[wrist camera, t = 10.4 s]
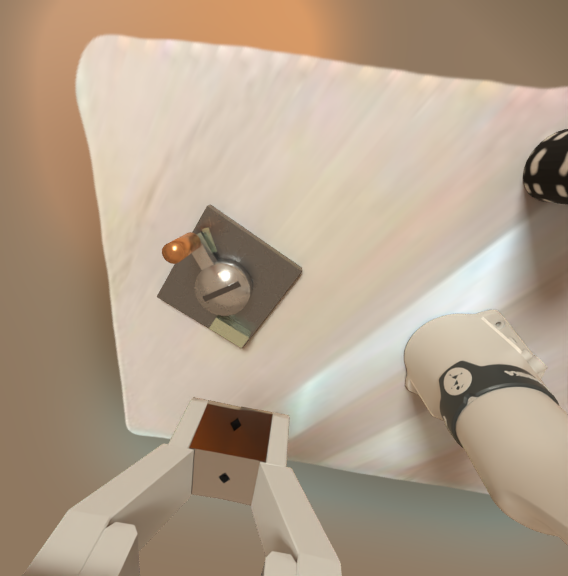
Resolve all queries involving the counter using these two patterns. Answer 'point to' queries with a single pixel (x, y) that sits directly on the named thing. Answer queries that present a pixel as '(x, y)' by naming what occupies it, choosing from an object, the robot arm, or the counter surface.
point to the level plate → (249, 254)
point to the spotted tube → (549, 169)
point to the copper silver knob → (212, 275)
